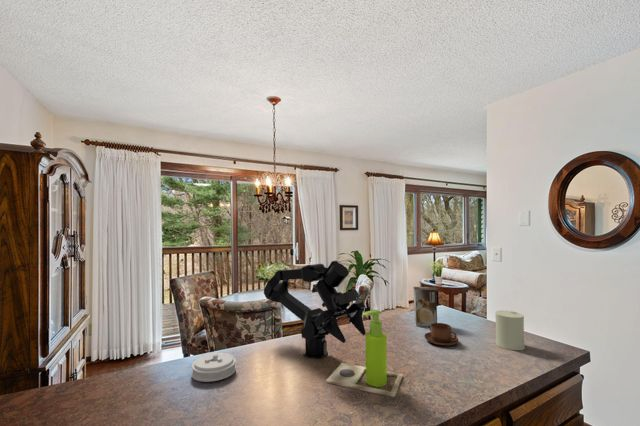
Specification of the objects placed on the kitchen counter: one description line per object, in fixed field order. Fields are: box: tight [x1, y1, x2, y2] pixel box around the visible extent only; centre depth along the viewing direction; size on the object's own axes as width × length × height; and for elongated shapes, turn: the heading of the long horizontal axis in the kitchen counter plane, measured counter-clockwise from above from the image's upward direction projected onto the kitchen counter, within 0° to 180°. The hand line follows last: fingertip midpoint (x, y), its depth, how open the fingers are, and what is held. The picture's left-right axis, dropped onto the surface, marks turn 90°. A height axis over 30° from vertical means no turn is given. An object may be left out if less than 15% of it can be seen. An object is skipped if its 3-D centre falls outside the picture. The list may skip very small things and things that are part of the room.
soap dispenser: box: [362, 309, 388, 388], centre depth 91 cm, size 6×7×20 cm
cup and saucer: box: [424, 322, 459, 347], centre depth 121 cm, size 12×12×6 cm
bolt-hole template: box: [326, 362, 404, 398], centre depth 92 cm, size 19×12×1 cm, turn 66°
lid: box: [191, 352, 237, 383], centre depth 96 cm, size 13×13×5 cm
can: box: [494, 310, 526, 351], centre depth 118 cm, size 9×9×12 cm
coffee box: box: [413, 286, 438, 327], centre depth 142 cm, size 9×6×16 cm
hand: (355, 338), depth 97 cm, fingers open, 9 cm apart
